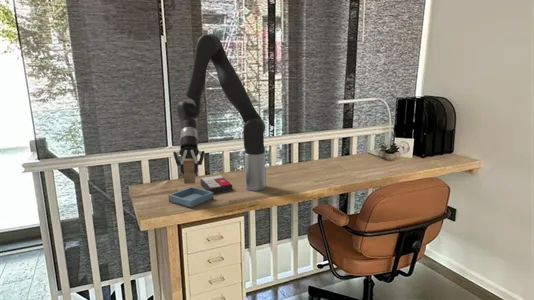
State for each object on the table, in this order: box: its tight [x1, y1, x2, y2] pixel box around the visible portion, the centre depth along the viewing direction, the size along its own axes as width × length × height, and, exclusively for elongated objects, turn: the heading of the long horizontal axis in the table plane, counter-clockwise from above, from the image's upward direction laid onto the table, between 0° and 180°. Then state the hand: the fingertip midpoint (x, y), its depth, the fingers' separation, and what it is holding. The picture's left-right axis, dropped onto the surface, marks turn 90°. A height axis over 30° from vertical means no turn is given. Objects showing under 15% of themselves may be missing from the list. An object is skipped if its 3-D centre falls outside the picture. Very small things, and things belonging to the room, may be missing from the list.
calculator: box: [200, 175, 233, 195], centre depth 189 cm, size 11×4×15 cm
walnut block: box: [183, 158, 196, 185], centre depth 170 cm, size 4×4×10 cm
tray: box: [168, 186, 214, 208], centre depth 173 cm, size 14×14×3 cm
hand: (189, 172), depth 169 cm, fingers closed on walnut block, 4 cm apart
